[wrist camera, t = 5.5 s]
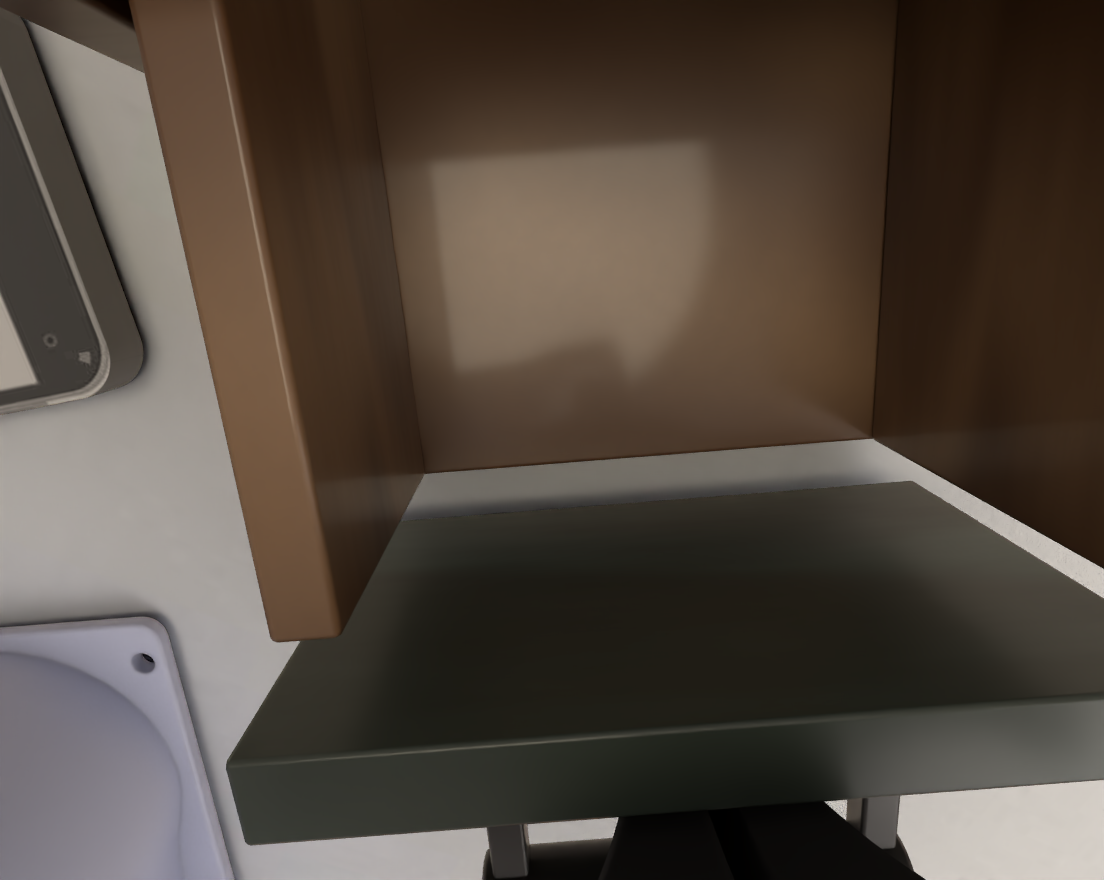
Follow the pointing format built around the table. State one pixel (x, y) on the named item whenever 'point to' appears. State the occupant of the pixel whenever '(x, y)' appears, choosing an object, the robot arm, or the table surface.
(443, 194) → the rack drawer
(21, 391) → the smartphone
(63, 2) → the cabinet
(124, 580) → the table surface
